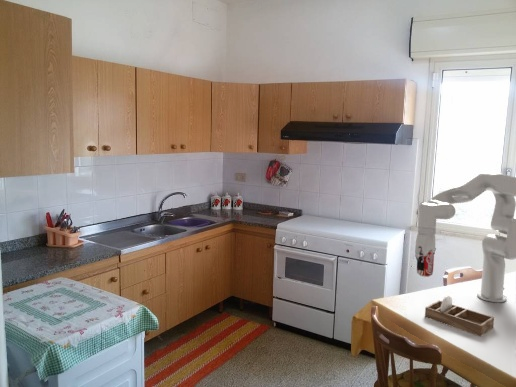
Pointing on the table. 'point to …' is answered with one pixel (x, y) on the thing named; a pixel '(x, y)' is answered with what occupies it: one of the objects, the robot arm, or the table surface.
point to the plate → (446, 304)
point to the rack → (461, 318)
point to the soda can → (427, 265)
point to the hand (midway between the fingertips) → (425, 267)
